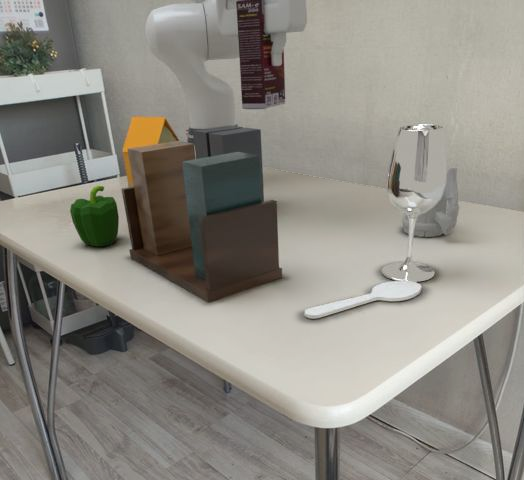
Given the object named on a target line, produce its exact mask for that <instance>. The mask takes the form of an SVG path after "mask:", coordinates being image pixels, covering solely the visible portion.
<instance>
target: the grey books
mask: <svg viewBox="0 0 524 480" xmlns="http://www.w3.org/2000/svg"><path fill="white" fill-rule="evenodd" d="M261 131H262V129H260V128H252V127H244V126H239V125H238V126H230V125H229V126H222V127H216V128H209V129H202V130H195V131H193V135H194V144H195V154H196V159H200V158H206V157H211V156H217V155H223V154H228V153H234V152H242V153H247V154H252V155H258V156H259V162H260V181H261V201H262V202H265V194H264V193H265V192H264V169H263V151H262V149H263V147H262V132H261Z"/></svg>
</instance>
